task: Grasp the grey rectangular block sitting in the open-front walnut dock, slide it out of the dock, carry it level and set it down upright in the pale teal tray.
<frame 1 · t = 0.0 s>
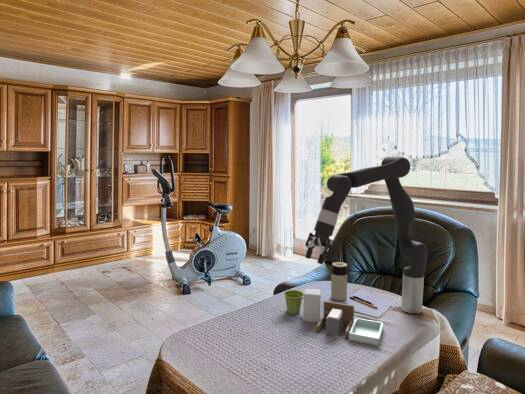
hand: (313, 260, 154), 31 cm above the table, tool tilted 20°, fingers open, 8 cm apart
travel mug: (338, 298, 197), on the table
grey rectangular block: (334, 330, 162), on the table
dock: (335, 328, 163), on the table
tray: (366, 334, 158), on the table
plant pot: (293, 311, 181), on the table
supplement box: (311, 318, 173), on the table
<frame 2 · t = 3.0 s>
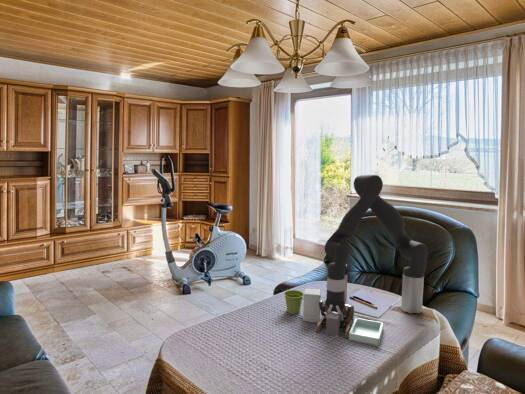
hand: (334, 326, 162), 1 cm above the table, tool pointing down, fingers closed on grey rectangular block, 5 cm apart
grey rectangular block: (334, 329, 162), on the table, touching gripper
everything else where it was.
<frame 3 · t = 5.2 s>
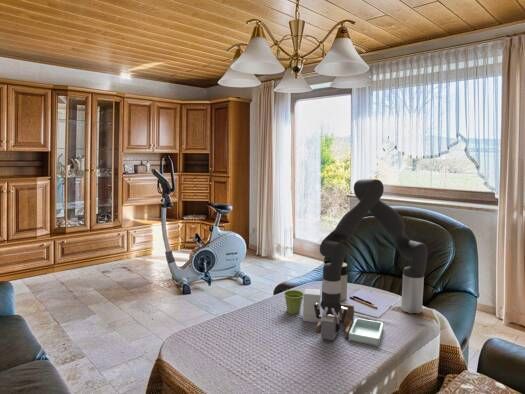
hand: (330, 329, 156), 3 cm above the table, tool pointing down, fingers closed on grey rectangular block, 5 cm apart
grey rectangular block: (330, 333, 156), point 2 cm above the table, touching gripper
everything else where it was.
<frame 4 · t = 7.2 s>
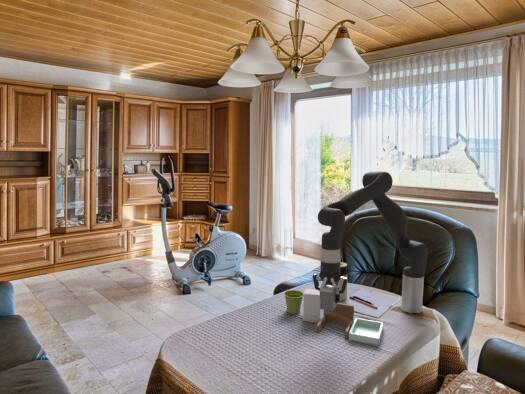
hand: (329, 301, 150), 17 cm above the table, tool pointing down, fingers closed on grey rectangular block, 5 cm apart
grey rectangular block: (329, 305, 150), point 15 cm above the table, touching gripper
everything else where it was.
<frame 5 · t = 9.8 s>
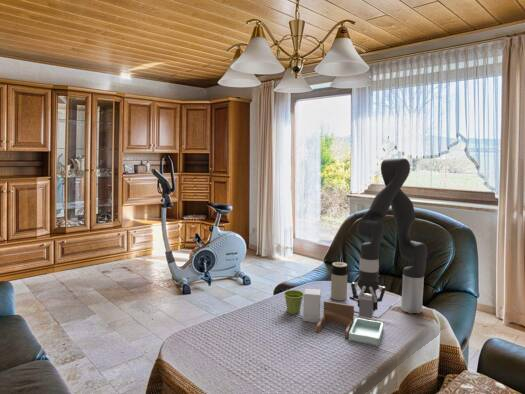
hand: (367, 308, 157), 11 cm above the table, tool pointing down, fingers closed on grey rectangular block, 5 cm apart
grey rectangular block: (367, 312, 157), point 10 cm above the table, touching gripper
everything else where it was.
when the fingers open (3 cm above the table, at t = 11.6 s): grey rectangular block drops 1 cm, resting on tray.
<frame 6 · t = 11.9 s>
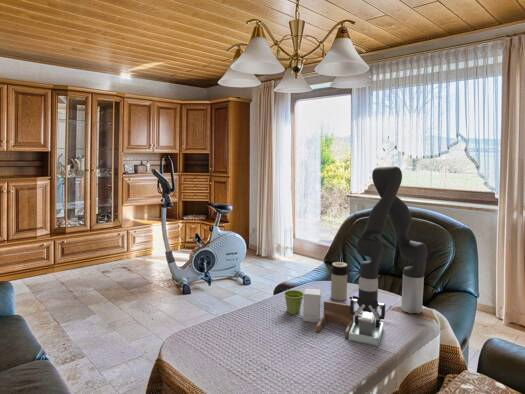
hand: (366, 325, 158), 4 cm above the table, tool pointing down, fingers open, 7 cm apart
grey rectangular block: (366, 333, 158), point 1 cm above the table, touching tray
everything else where it was.
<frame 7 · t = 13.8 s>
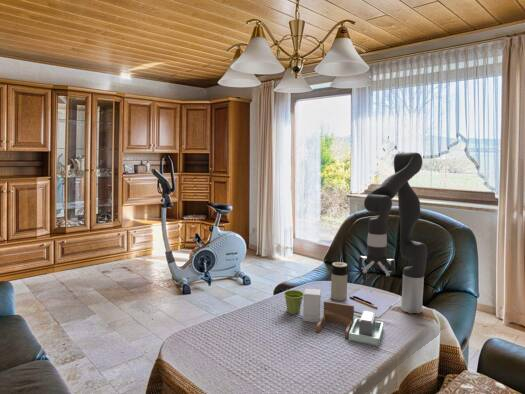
hand: (376, 282, 157), 22 cm above the table, tool pointing down, fingers open, 8 cm apart
nothing on the table moved.
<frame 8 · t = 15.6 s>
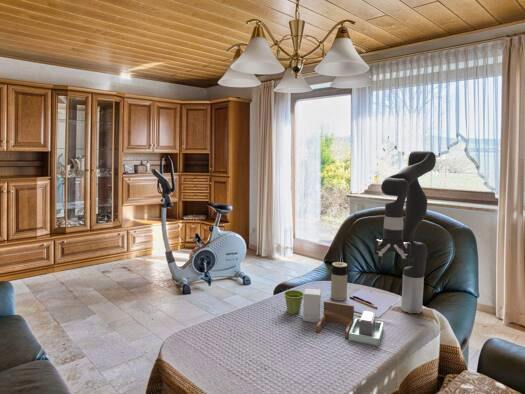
hand: (391, 265, 159), 28 cm above the table, tool pointing down, fingers open, 8 cm apart
nothing on the table moved.
at the end: grey rectangular block inside the target area on the tray (0.2 cm from its centre), point 0.6 cm above the tray's base; grey rectangular block tilted 0°; the gripper is holding nothing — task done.
